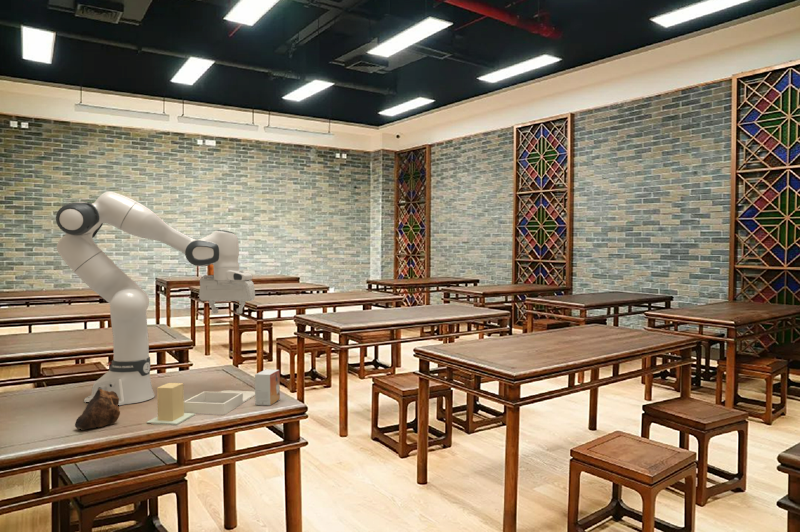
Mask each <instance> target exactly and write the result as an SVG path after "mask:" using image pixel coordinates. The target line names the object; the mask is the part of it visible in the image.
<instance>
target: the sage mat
mask: <svg viewBox="0 0 800 532" xmlns="http://www.w3.org/2000/svg"><path fill="white" fill-rule="evenodd" d="M194 416H196V414H195V413H184V415H183V416H181V417H180V418H178V419H176V420H174V421H161V420H158V415H157V416H156V417H153V418H151V419H149V420H147V421H146V423H153V424H152V425H163V424H166V425H167V424H169V425H170V426H178V425H180V424H182V423H184V422H185V421H187V420H189V419H190V417H191V418H192V417H194ZM183 421H184V422H183ZM181 422H182V423H181ZM169 425H167V426H169Z"/></svg>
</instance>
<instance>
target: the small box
mask: <svg viewBox="0 0 800 532" xmlns="http://www.w3.org/2000/svg"><path fill="white" fill-rule="evenodd" d="M280 379H281V377H280V369H270V368H269V369H267V368H264V370H262V371H259V372H258V373H255V374H254V391H255V396H254V399H255V401H254V402H255V403H254V404H255V405H256V406H272V405H273V404H274V403H276V402H278V401H280V400H281V395H280V393H281V392H280V389H281V387H280ZM279 399H280V400H279ZM277 400H278V401H277Z"/></svg>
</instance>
